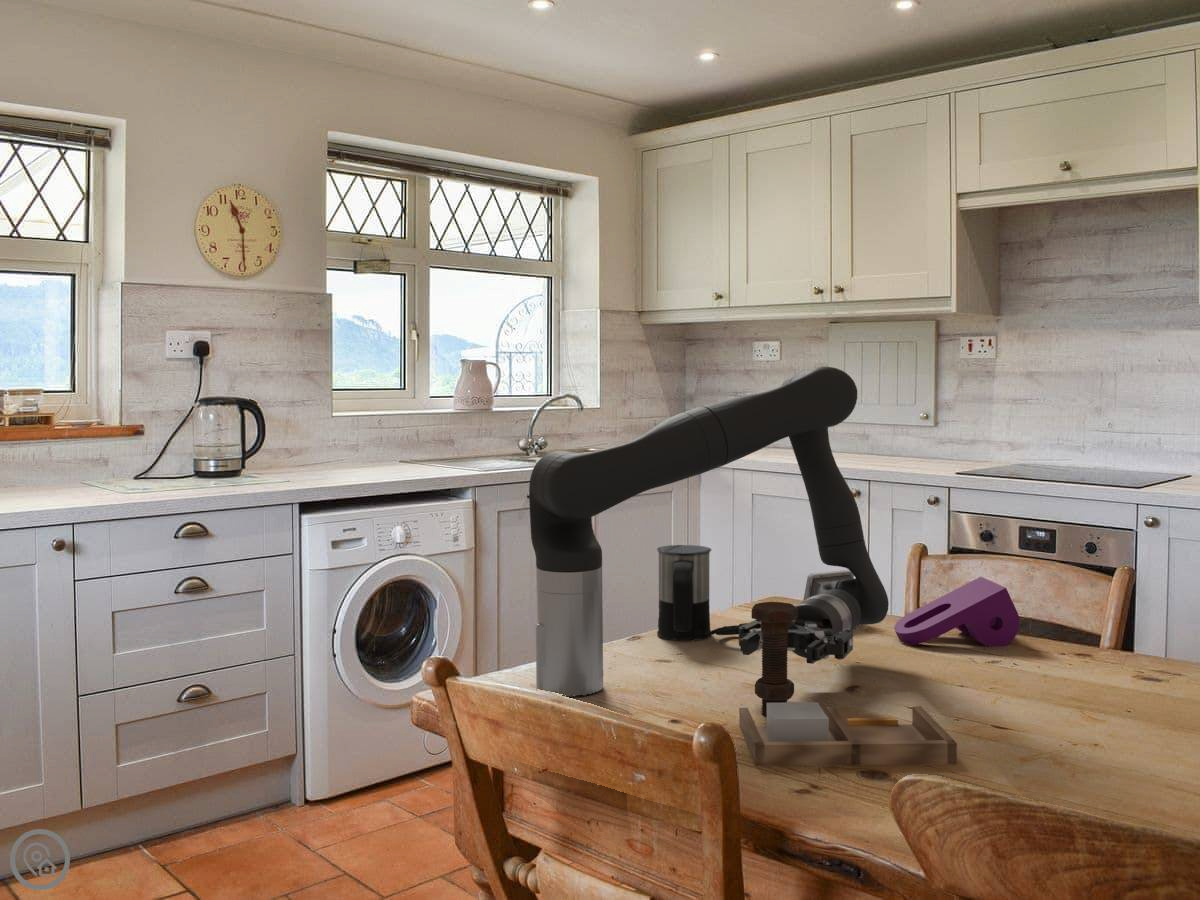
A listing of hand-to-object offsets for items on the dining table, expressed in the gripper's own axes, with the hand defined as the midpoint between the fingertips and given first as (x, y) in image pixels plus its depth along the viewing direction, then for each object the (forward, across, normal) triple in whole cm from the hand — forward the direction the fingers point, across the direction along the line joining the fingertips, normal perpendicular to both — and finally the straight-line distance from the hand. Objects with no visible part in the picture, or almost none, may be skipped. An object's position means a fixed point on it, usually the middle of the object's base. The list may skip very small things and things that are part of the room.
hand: (776, 651), depth 134 cm
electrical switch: (-56, -10, +9) cm, 57 cm away
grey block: (+10, +6, +8) cm, 14 cm away
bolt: (+1, 0, +9) cm, 9 cm away
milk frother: (-35, -25, +9) cm, 44 cm away
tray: (+7, +11, +9) cm, 16 cm away
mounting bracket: (-53, +11, +9) cm, 55 cm away
